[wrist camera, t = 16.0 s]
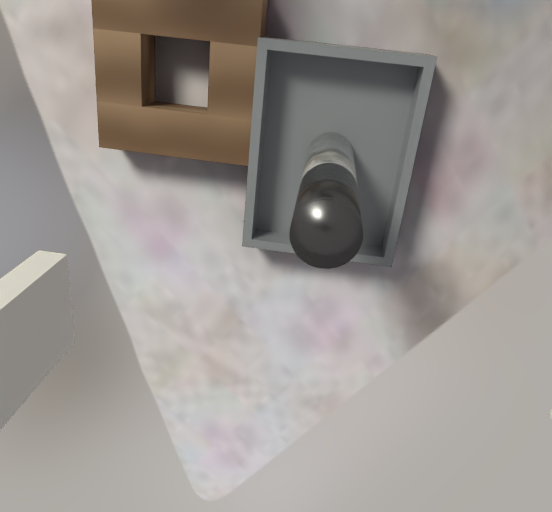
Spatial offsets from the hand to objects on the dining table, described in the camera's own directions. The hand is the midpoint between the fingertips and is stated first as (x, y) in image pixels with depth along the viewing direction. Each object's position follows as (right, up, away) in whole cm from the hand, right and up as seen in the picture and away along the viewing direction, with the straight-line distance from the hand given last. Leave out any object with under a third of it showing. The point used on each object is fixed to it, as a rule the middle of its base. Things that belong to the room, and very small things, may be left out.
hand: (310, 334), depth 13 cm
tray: (+3, +9, +21) cm, 23 cm away
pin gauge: (+3, +9, +20) cm, 22 cm away
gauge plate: (-7, +14, +20) cm, 25 cm away
